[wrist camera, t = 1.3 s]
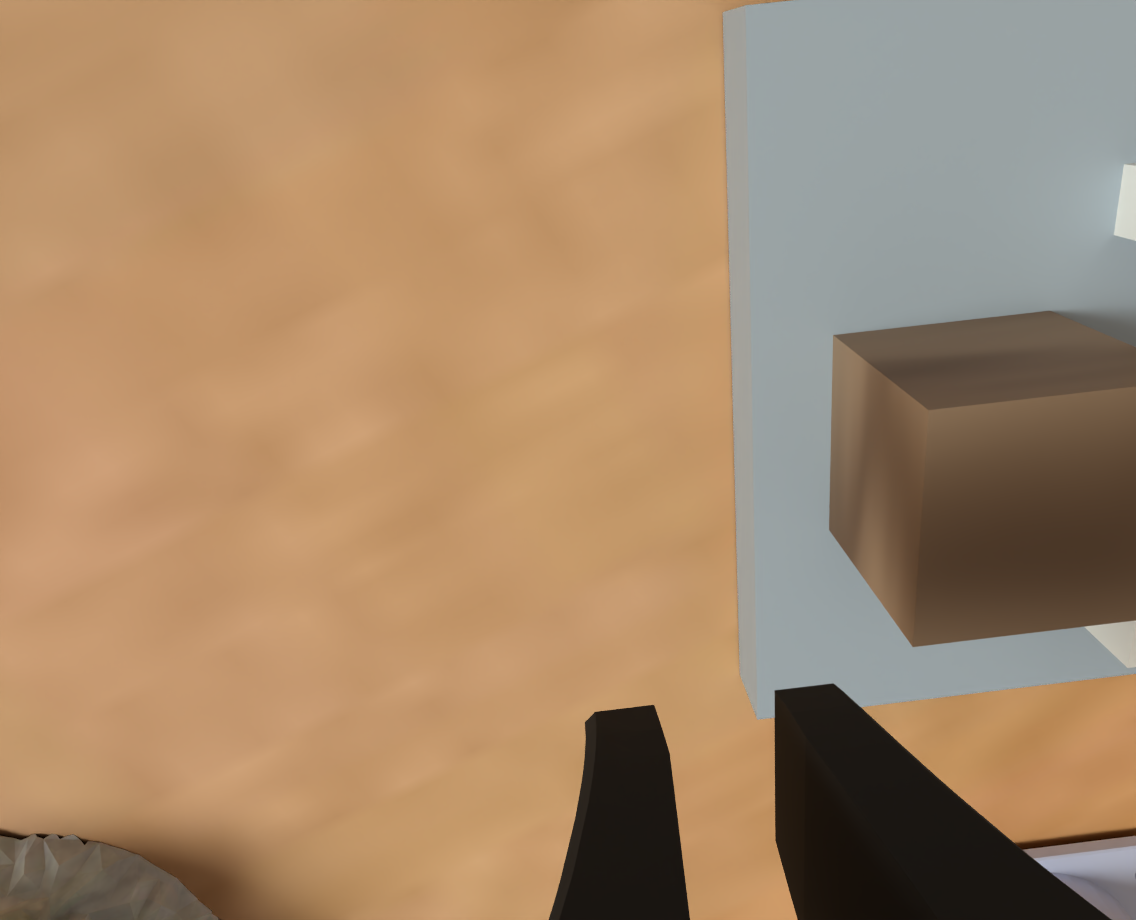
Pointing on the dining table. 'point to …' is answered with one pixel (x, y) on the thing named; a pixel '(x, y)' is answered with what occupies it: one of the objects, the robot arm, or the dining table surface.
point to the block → (987, 474)
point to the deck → (906, 280)
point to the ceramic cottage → (87, 883)
